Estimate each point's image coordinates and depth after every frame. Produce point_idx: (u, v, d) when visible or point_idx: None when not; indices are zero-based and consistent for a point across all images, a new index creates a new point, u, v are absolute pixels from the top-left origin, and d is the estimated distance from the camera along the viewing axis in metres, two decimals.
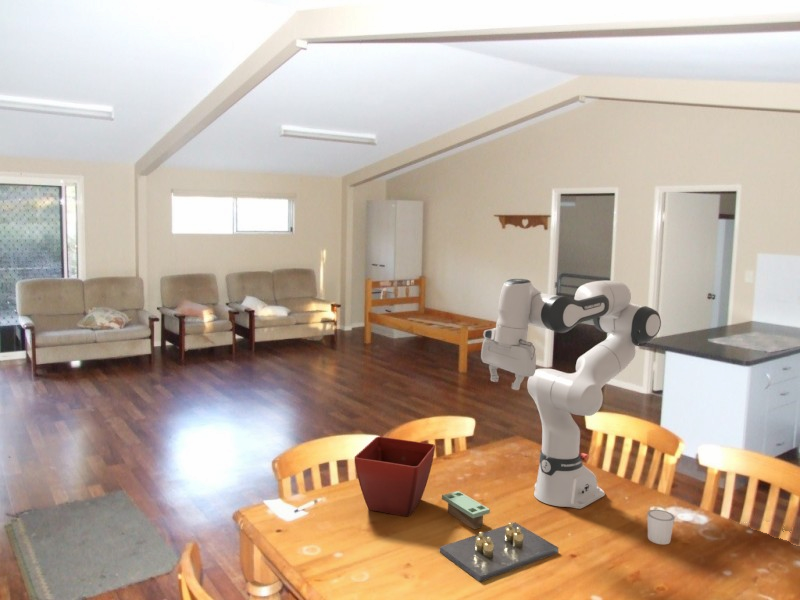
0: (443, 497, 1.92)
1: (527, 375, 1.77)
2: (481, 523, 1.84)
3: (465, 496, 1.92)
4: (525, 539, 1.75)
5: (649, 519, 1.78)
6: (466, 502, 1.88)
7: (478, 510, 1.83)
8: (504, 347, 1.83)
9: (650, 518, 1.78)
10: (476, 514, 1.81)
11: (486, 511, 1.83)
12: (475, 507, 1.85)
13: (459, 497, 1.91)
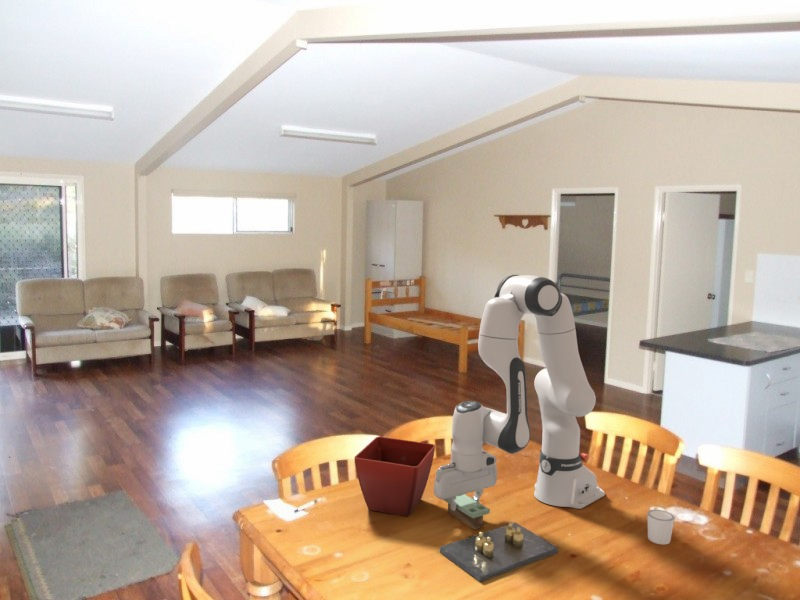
0: None
1: (436, 496, 1.83)
2: (481, 523, 1.84)
3: (465, 496, 1.92)
4: (525, 539, 1.75)
5: (649, 519, 1.78)
6: (466, 502, 1.88)
7: (478, 510, 1.83)
8: None
9: (650, 518, 1.78)
10: (476, 514, 1.81)
11: (486, 511, 1.83)
12: (475, 507, 1.85)
13: (459, 497, 1.91)
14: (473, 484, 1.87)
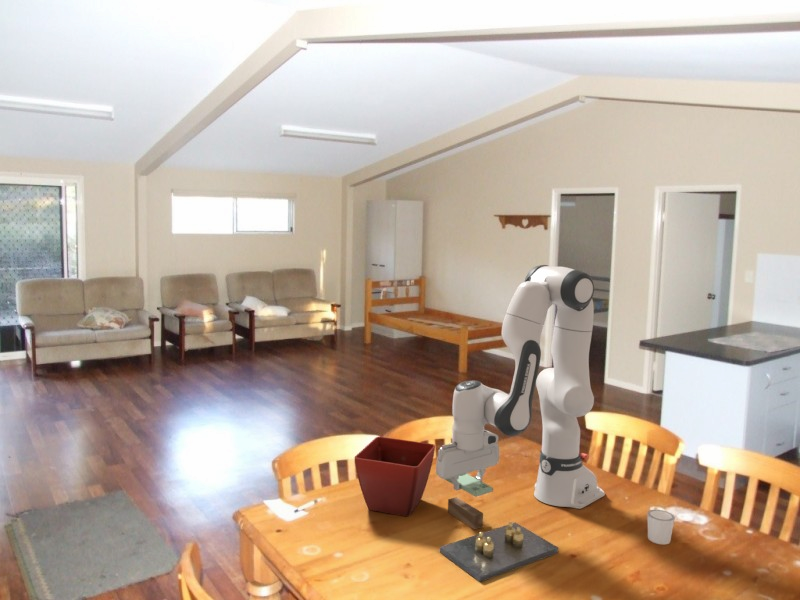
0: None
1: None
2: (481, 523, 1.84)
3: (468, 475, 1.91)
4: (525, 539, 1.75)
5: (649, 519, 1.78)
6: (469, 481, 1.87)
7: (481, 488, 1.82)
8: None
9: (650, 518, 1.78)
10: (479, 492, 1.81)
11: (489, 489, 1.83)
12: (478, 486, 1.84)
13: (462, 477, 1.90)
14: (475, 463, 1.86)
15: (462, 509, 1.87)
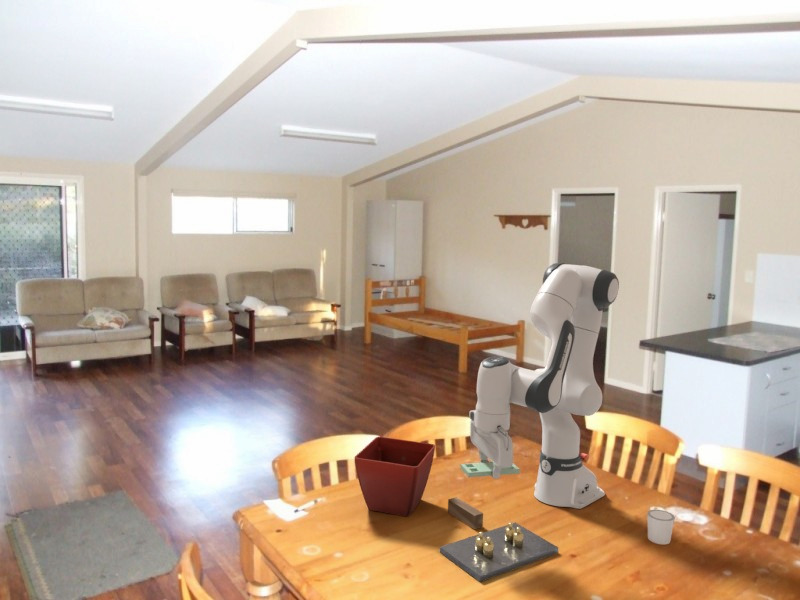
0: (471, 474, 1.68)
1: (503, 467, 1.63)
2: (481, 523, 1.84)
3: (475, 463, 1.74)
4: (525, 539, 1.75)
5: (649, 519, 1.78)
6: (491, 466, 1.73)
7: None
8: (483, 433, 1.70)
9: (650, 518, 1.78)
10: None
11: None
12: None
13: (477, 466, 1.72)
14: None
15: (462, 509, 1.87)
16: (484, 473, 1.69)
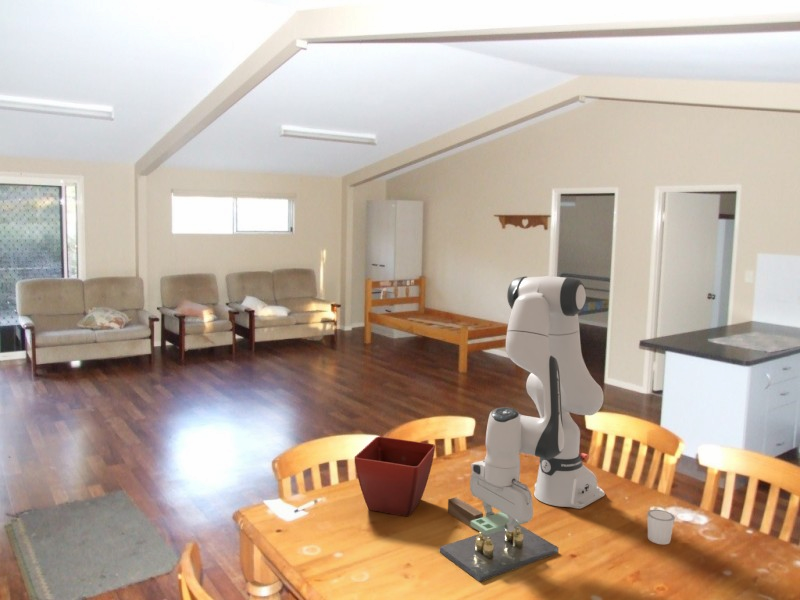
0: (487, 531, 1.64)
1: (524, 521, 1.61)
2: None
3: (484, 517, 1.70)
4: (525, 539, 1.75)
5: (649, 519, 1.78)
6: (500, 518, 1.70)
7: None
8: (496, 487, 1.66)
9: (650, 518, 1.78)
10: None
11: None
12: None
13: (488, 521, 1.68)
14: None
15: (462, 509, 1.87)
16: (499, 528, 1.66)
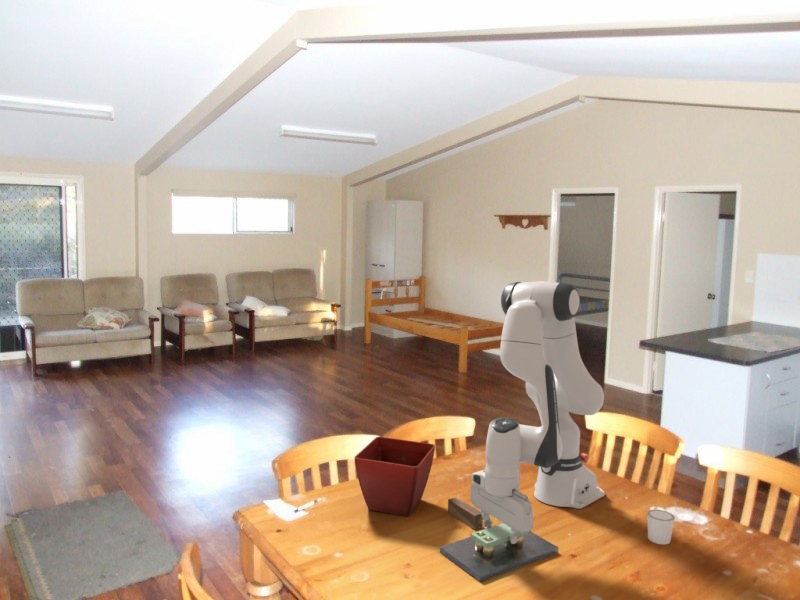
0: (488, 544, 1.64)
1: (525, 532, 1.61)
2: (481, 523, 1.84)
3: (484, 530, 1.71)
4: (525, 539, 1.75)
5: (649, 519, 1.78)
6: (500, 531, 1.70)
7: None
8: (496, 498, 1.66)
9: (650, 518, 1.78)
10: None
11: None
12: None
13: (489, 534, 1.69)
14: None
15: (462, 509, 1.87)
16: (499, 541, 1.66)
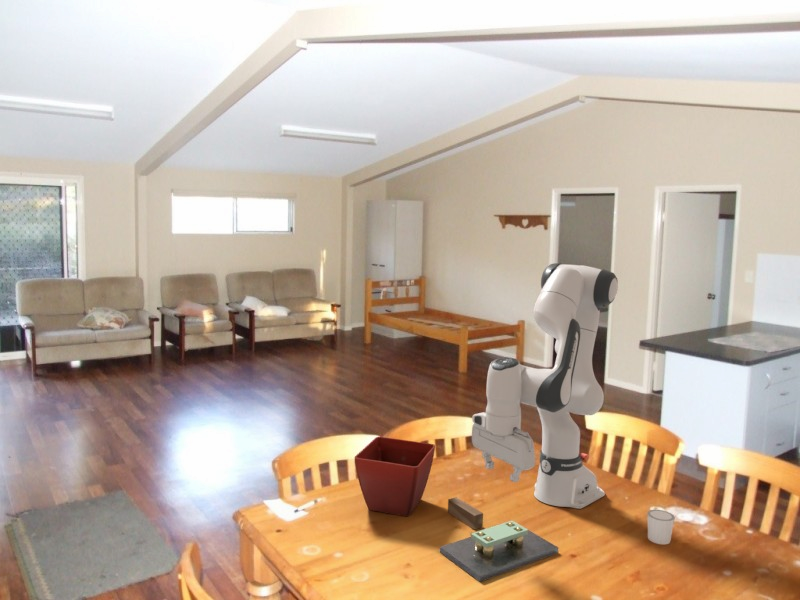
0: (488, 544, 1.64)
1: (527, 469, 1.61)
2: (481, 523, 1.84)
3: (484, 530, 1.71)
4: (525, 539, 1.75)
5: (649, 519, 1.78)
6: (500, 531, 1.70)
7: (517, 526, 1.73)
8: (498, 437, 1.66)
9: (650, 518, 1.78)
10: None
11: None
12: (511, 527, 1.73)
13: (489, 534, 1.69)
14: None
15: (462, 509, 1.87)
16: (499, 541, 1.66)
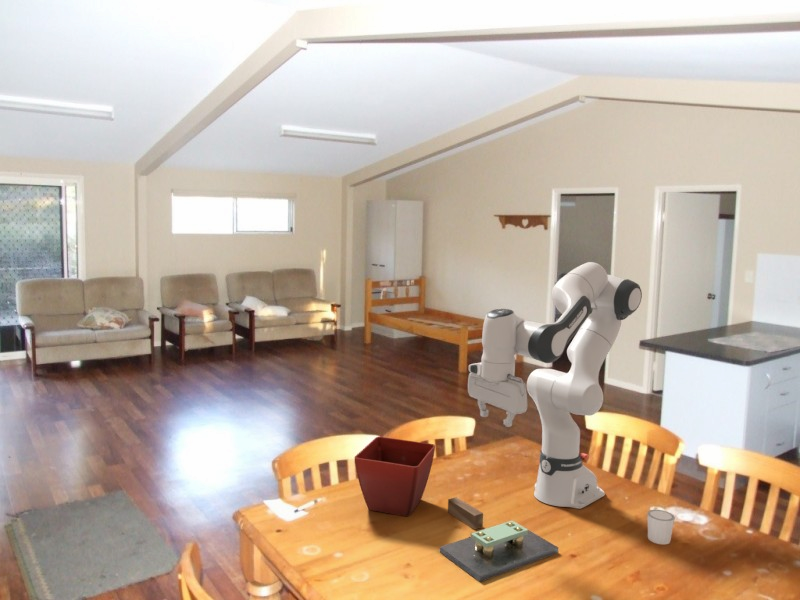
0: (488, 544, 1.64)
1: (519, 412, 1.69)
2: (481, 523, 1.84)
3: (484, 530, 1.71)
4: (525, 539, 1.75)
5: (649, 519, 1.78)
6: (500, 531, 1.70)
7: (517, 526, 1.73)
8: (492, 383, 1.74)
9: (650, 518, 1.78)
10: None
11: None
12: (511, 527, 1.73)
13: (489, 534, 1.69)
14: None
15: (462, 509, 1.87)
16: (499, 541, 1.66)
